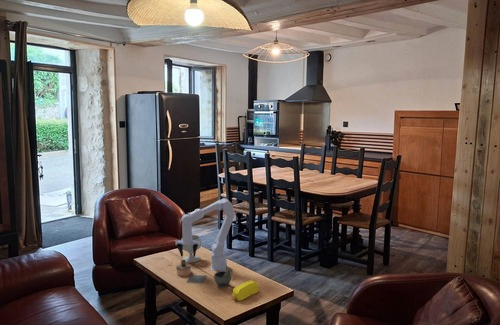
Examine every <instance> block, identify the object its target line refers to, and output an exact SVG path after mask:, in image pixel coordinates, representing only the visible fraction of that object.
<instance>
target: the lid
mask: <svg viewBox="0 0 500 325" xmlns="http://www.w3.org/2000/svg"><path fill="white" fill-rule="evenodd" d="M175 267H176V268H175V270H176V269H177V270H188V269H190V268H191V269H192V265H191V263H187V262H186V260H182V259H181V261H180V263H179V264H176V266H175Z"/></svg>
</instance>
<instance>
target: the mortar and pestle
mask: <svg viewBox="0 0 500 325" xmlns="http://www.w3.org/2000/svg"><path fill="white" fill-rule="evenodd" d="M213 274H214V275H213V278H214V281H215V283H216V284H217V287H219V288H221V289H222V288H223V289H225V288H228V287H229V283H231V281H232V278H233V277H232V276H233V275H232V268H231V267H226V270H225V271H216V272H215V273H213Z"/></svg>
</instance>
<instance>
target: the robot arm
mask: <svg viewBox="0 0 500 325" xmlns="http://www.w3.org/2000/svg"><path fill="white" fill-rule="evenodd" d="M216 210H218V211H222V210H223V212H224V214H225V217H224V219H223V221H222V224H221V227H220V229H219V232H218V234H217V237H216V238H215V239H214V241H213V243H212V244H211V245H210V249H211V251H212V252H211V254H210V257H211V267H210V271H218V272H220V271H227V268H228V260H227V259H228V257H227V256H228V255H227V254H224V248H225V242H226V238H227V236H228V234H229V231H230V228H231V226H232V224H233V221H234V218H235V209H234V205H233V203H232V202H231V201H229V200H228V198H225V197H222V198H221V199H217V201H215V202H213V203H211V204H209V205H208V206H205V207H203V208H196V209H194V211H193V210H192V212H187V213H186V214H185V213H184V214H183V215H182V217H181V219H180V221H181V223H182V224H181V225H182V232H181V233H182V237H183V240H182V241H181V240H176V241H175V243H174V244H175V246H176V248H177V250H178V251H179V254H180V257H182V258H183V256H184V250H183V245H193V254H192V255H193V257H195V256H196V253H197V251H198V250H197V247H198V245H200V241H194V240H192V235H193V226H192V224H193V223H194V222H196V221H199V220H200V219H202V218H204V216H205V215H206V214H208V213H211V212H213V211H216Z"/></svg>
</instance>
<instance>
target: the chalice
mask: <svg viewBox="0 0 500 325" xmlns="http://www.w3.org/2000/svg"><path fill="white" fill-rule="evenodd" d="M182 240H183V236H182V237H181V239H180V241H182ZM192 240H194V241H200V245H198V247H197V250H196V251H198V250H199V249H200V248H201V247H202V240H201V238H200V236H199V235H194V234H192ZM183 252H187V253H188V254H189V255H187V256H184V257H182V259H181V260H186V263H188V264H191V263H197V262H199V261H201V256H198V255H195V257H193V245H183Z"/></svg>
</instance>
